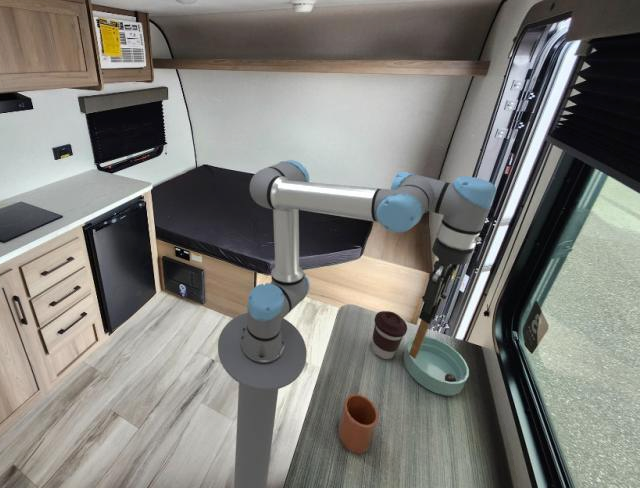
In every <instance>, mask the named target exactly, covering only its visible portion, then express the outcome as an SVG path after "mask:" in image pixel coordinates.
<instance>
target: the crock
mask: <svg viewBox="0 0 640 488" xmlns="http://www.w3.org/2000/svg"><path fill="white" fill-rule="evenodd" d="M378 422H379V412H378V410H377V407H376V405H375V404H374V402H373V401H372V400H371V399H370V398H368V397H367V396H364V395H362V394H360V393H352V394H349V395H348V396H347V397H345V400H344V403H343V407H342V410H341V416H340V419H339V423H338V426H337V427H338V428H337V433H338V437H339V440H340V442H341V444H342V445H343V446H344V447H345V449H347V450H349V451H350V452H352V453H355V454H363V453H365V452H367V451H368V450H369V448H370V446H371V443H372V441H373V437H374V434H375V431H376V428H377V424H378Z"/></svg>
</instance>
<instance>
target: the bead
mask: <svg viewBox="0 0 640 488" xmlns="http://www.w3.org/2000/svg"><path fill="white" fill-rule="evenodd" d="M445 381H448V382H456V378H455V377H454V376H453V375H452V374H446V375H445Z"/></svg>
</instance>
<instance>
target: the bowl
mask: <svg viewBox="0 0 640 488" xmlns="http://www.w3.org/2000/svg"><path fill="white" fill-rule="evenodd" d="M414 338H415V336H414V337H411V338H410V339H409V341H407V345H406V347H405V350H404V354H403V364H404V367H405V368H406V370H407V373H409V375H410V376H411V377H412V378H413V379H414V380H415V381H416V382H417V383H418V384H419V385H421V386H422V387H423V388H425V389H427V390H429V391H431V392H433V393H435V394H438V395H442V396H446V397H447V396H456V395H458V394H460V393H461V392H462V391H463V389H464V387H465V385H466V383H467V380H468V379H469V377H470V369H469V366H468V363H467V362H466V360H465V359H464V358H463V356H462V355H461V354H460V353H459V352H458V351H457V350H456V349H455V348H454V347H452V346H451V345H450V344H448V343H446V342H444V341H442V340H440V339H438V338H435V337H432V336H427V335H426V336H425V338H424V341H423V343H422V346H421V349H420V351H419V354H418V356H417V357H416V359H415V358H413V357H412V356H410V355H409V352H410V349H411V347H412V344H413V341H414ZM446 374H452V375H453V376H454V377H455V378H456V382H448V381H445V375H446Z"/></svg>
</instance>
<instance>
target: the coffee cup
mask: <svg viewBox="0 0 640 488" xmlns="http://www.w3.org/2000/svg"><path fill="white" fill-rule="evenodd" d="M407 332H408V325H407V322H406V321H405V320H404V319H403V317H401V316H400V315H399V314H397V313H396V312H394V311H391V310H382V311H378V312H377V313H376V314H375V316H374V327H373V333H372V342H371V349H372V351H373V352H374V354H375V355H376V356H378V357H379V358H381V359H385V360H391V359H392V358H393V357H394V356H395V354H396V352H397V350H398V349H399V347H400V344H401V342H402V341H403V339H404V336H405V335H406V334H407Z"/></svg>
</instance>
